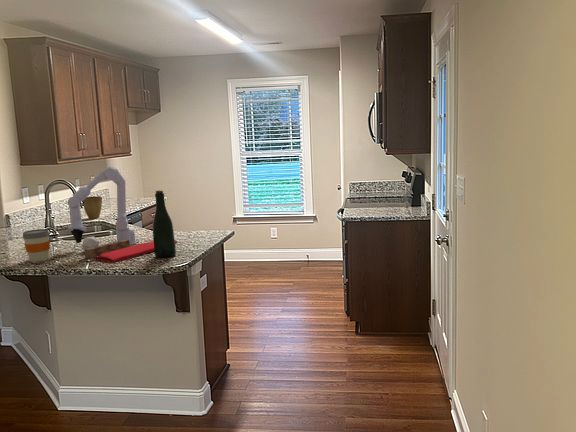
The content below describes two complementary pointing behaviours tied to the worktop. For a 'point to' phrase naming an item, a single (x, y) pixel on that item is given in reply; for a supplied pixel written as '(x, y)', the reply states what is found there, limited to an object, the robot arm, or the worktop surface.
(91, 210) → the plant pot
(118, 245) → the brown wooden bar
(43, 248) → the reusable coffee cup
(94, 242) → the die
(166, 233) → the dark green wine bottle
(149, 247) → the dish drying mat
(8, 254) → the worktop surface
